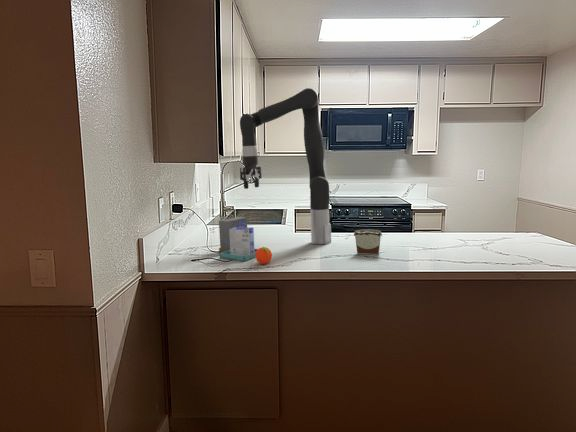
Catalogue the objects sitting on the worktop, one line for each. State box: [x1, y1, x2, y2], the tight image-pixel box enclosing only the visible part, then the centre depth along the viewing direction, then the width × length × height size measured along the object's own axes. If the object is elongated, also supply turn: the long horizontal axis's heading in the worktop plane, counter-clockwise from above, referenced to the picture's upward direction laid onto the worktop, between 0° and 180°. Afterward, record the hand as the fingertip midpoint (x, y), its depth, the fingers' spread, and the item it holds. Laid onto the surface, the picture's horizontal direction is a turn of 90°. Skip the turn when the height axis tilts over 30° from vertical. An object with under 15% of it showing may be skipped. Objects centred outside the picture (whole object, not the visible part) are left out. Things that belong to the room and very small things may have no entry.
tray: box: [219, 248, 259, 262], centre depth 183 cm, size 14×14×2 cm
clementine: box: [255, 246, 273, 265], centre depth 168 cm, size 8×7×7 cm
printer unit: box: [218, 216, 248, 253], centre depth 195 cm, size 7×14×15 cm, turn 145°
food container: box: [353, 228, 383, 256], centre depth 181 cm, size 12×6×10 cm, turn 71°
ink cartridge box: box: [229, 222, 255, 256], centre depth 182 cm, size 10×6×14 cm, turn 73°
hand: (251, 187), depth 205 cm, fingers open, 8 cm apart
